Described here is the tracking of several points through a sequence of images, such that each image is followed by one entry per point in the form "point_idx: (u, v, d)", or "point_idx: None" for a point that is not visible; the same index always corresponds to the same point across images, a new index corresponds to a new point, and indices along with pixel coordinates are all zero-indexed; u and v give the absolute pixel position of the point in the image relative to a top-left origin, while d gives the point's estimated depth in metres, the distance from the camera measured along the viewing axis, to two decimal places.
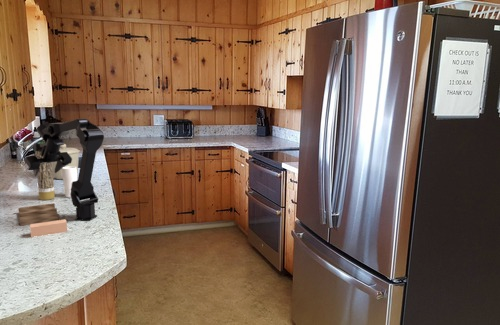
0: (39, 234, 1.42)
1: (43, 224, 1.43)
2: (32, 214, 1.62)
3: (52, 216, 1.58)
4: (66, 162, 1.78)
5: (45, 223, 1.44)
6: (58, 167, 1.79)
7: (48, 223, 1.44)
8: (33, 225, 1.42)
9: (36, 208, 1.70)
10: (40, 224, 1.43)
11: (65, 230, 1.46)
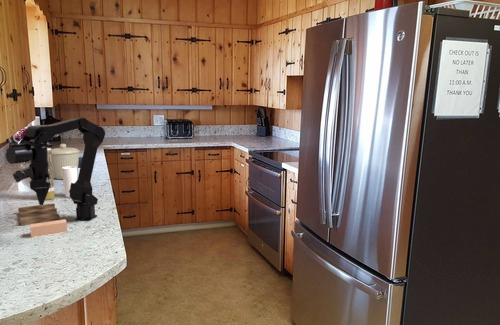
0: (39, 234, 1.42)
1: (43, 224, 1.43)
2: (32, 214, 1.62)
3: (52, 216, 1.58)
4: None
5: (45, 223, 1.44)
6: None
7: (48, 223, 1.44)
8: (33, 225, 1.42)
9: (36, 208, 1.70)
10: (40, 224, 1.43)
11: (65, 230, 1.46)
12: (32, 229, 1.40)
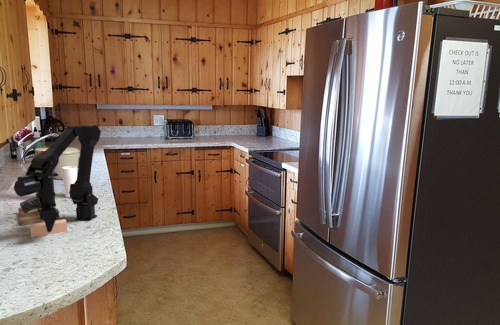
0: (39, 234, 1.42)
1: (43, 224, 1.43)
2: (32, 214, 1.62)
3: None
4: None
5: None
6: None
7: None
8: (33, 225, 1.42)
9: (36, 208, 1.70)
10: (40, 224, 1.43)
11: (65, 230, 1.46)
12: (32, 229, 1.40)
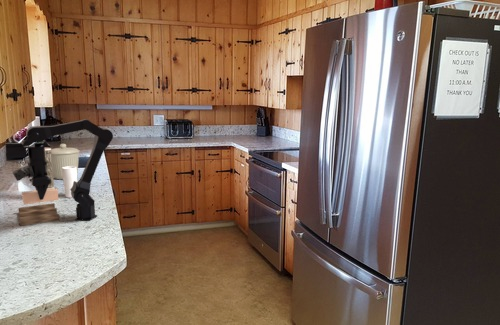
0: (31, 201, 1.48)
1: (35, 192, 1.49)
2: (32, 214, 1.62)
3: (52, 216, 1.58)
4: None
5: None
6: None
7: None
8: (25, 192, 1.48)
9: (36, 208, 1.70)
10: (32, 192, 1.49)
11: (56, 198, 1.53)
12: (24, 196, 1.47)
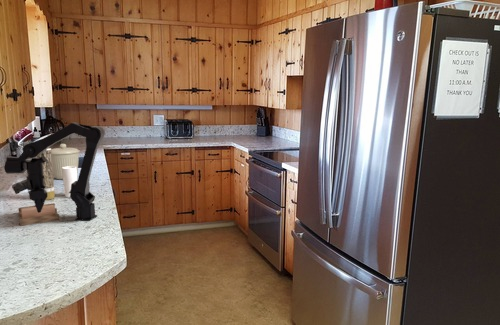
0: None
1: (33, 208, 1.57)
2: None
3: (52, 216, 1.58)
4: None
5: (35, 208, 1.59)
6: None
7: None
8: (24, 209, 1.56)
9: None
10: (31, 209, 1.57)
11: None
12: (23, 213, 1.55)
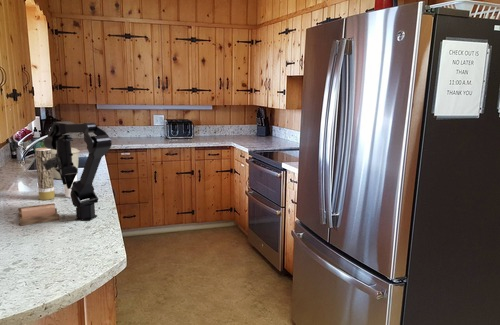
0: None
1: (33, 208, 1.57)
2: None
3: (52, 216, 1.58)
4: None
5: (35, 208, 1.59)
6: None
7: (38, 208, 1.59)
8: (24, 209, 1.56)
9: None
10: (31, 209, 1.57)
11: None
12: (23, 213, 1.55)
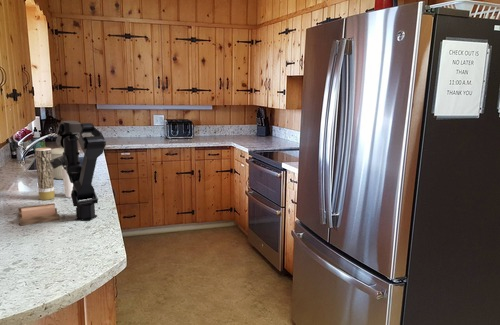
0: None
1: (33, 208, 1.57)
2: None
3: (52, 216, 1.58)
4: None
5: (35, 208, 1.59)
6: None
7: (38, 208, 1.59)
8: (24, 209, 1.56)
9: None
10: (31, 209, 1.57)
11: None
12: (23, 213, 1.55)
